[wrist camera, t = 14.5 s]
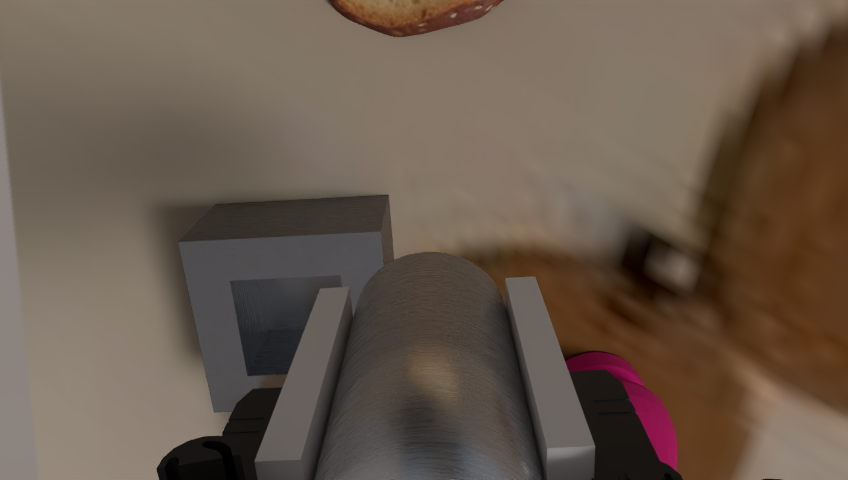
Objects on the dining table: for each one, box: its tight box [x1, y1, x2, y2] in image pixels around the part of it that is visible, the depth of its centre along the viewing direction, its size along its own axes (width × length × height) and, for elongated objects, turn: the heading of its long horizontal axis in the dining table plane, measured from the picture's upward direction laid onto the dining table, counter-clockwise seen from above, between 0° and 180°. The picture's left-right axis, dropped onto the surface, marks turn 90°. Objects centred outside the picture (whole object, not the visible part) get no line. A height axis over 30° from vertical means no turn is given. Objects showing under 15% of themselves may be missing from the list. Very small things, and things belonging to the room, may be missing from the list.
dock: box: [178, 195, 394, 412], centre depth 38 cm, size 22×10×7 cm, turn 4°
